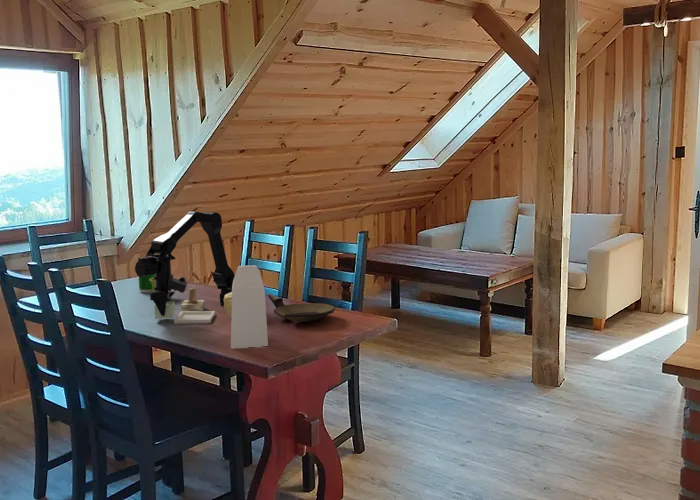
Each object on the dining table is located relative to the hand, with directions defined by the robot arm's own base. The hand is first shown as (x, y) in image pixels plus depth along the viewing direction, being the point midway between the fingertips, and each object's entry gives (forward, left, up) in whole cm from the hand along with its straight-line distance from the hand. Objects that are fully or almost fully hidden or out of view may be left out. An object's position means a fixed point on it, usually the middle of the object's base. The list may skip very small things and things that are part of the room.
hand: (164, 313), depth 258 cm
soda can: (+18, -51, -3) cm, 54 cm away
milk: (-34, +31, -3) cm, 46 cm away
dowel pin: (-8, -14, -3) cm, 16 cm away
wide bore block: (-8, -14, -3) cm, 16 cm away
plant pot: (+9, -37, -3) cm, 38 cm away
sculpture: (-28, -3, -3) cm, 28 cm away
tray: (-11, -1, -3) cm, 11 cm away
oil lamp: (-51, 0, -3) cm, 51 cm away
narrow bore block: (0, 0, -1) cm, 1 cm away
